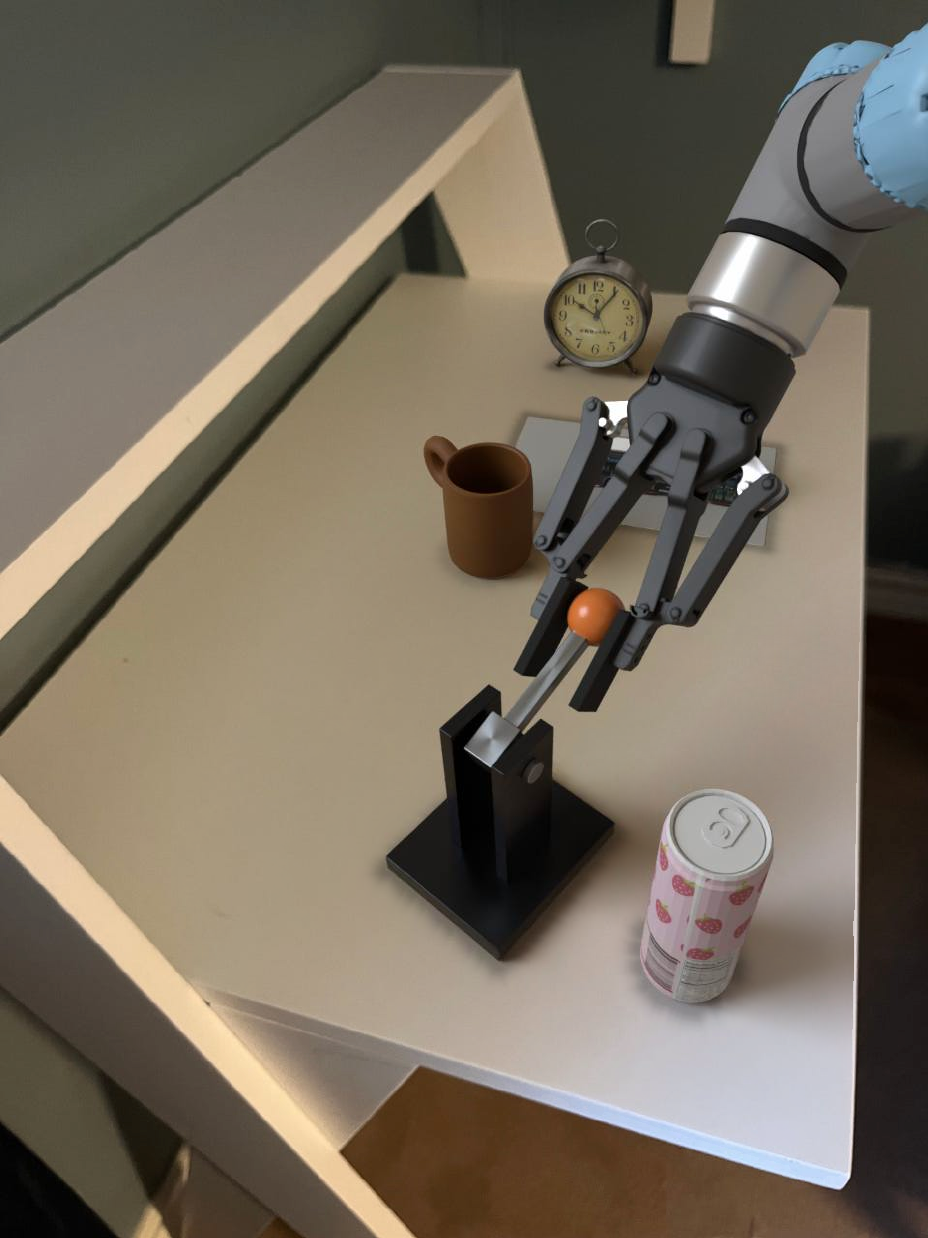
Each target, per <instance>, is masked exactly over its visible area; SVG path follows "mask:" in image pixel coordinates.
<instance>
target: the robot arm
mask: <svg viewBox="0 0 928 1238" xmlns="http://www.w3.org/2000/svg"><path fill="white" fill-rule="evenodd" d="M925 218H928V22H927V23H926V24H924V26H923V27H921V28H920V29H918V30H913V31H911V32H910V33H909V34H907V35H906V36H905V37H904V39H902V41H900V42H899V43H896V44H894V45H893V47H891V46H888V45H886V44H883V43H879V42H875V41H869V40H862V39H860V40H859V39H858V40H854V41H852V42H851V43H850V44H849V43H846V42H843V41H841V42H834V43H831V44H829V45H827V46H825V47H823V48H822V49H821V50H819V51H818V52H817V53H816V54H815V55H814V56H813V57H812V58H811V60H810V61H809V62H808V64H807V65H806V67H805V69H804V71H803V72H802V74H801V75H800V77H799V79H798V80H797V83H796V85H795V86H794V88H793V90H792V91H791V93H788V94H787V96H786V97H785V98H784V100H783V101H782V104H781V105H780V107H779V109H778V111H777V117H776V118H775V121H774V125H773V127H772V129H771V132H770V133H769V135H768V137H767V139H766V141H765V142H764V145H763V147H762V150H761V151H760V153H759V155H758V156H757V159H756V161H755V163H754V165H753V167H752V170H751V171H750V173H749V175H748V177H747V179H746V181H745V183H744V185H743V187H742V189H741V190H740V193H739V195H738V197H737V199H736V201H735V203H734V205H733V207H732V209H731V211H730V213H729V215H728V217H727V218H726V221H725V223H724V225H723V228H722V229H721V231H720V233H719V235H718V236H717V238H716V240H715V243H714V244H713V246H712V249H711V250H710V252H709V253H708V256H707V258H706V260H705V261H704V263H703V265H702V267H701V269H700V270H699V273H698V275H697V277H696V278H695V280H694V282H693V283H692V286H691V288H690V289H689V291H688V293H687V295H686V297H685V302H686V304H687V308H688V309H689V310H690V311H687V312H683V313H682V314H681V315H680V314H679V315H678V316H677V317H675V320H674V322H673V324H672V325H671V328H670V329H669V331H668V333H667V335H666V337H665V339H664V341H663V343H662V345H661V347H660V349H659V351H658V353H657V355H656V357H655V359H654V360H653V363H652V366H651V368H650V372H649V375H648V377H647V379H646V381H645V382H644V383H643V385H642V386H641V387H639V389H637V390H636V391H635V392H634V393H632V395H631V396H630V397H629V398H628V400H621V401H604V400H603V401H602V400H601V399H600V398H598V397H597V396H590V397H589V396H588V398H586V399H585V400H584V402H583V404H582V408H581V409H582V410H581V419H580V423H581V427H580V434H579V436H578V439H577V441H576V443H575V446H574V448H573V450H572V452H571V455H570V457H569V459H568V461H567V464H566V466H565V468H564V470H563V473H562V475H561V477H560V479H559V482H558V484H557V486H556V488H555V491H554V493H553V495H552V498H551V500H550V502H549V504H548V507H547V509H546V511H545V513H544V512H543V516H542V518H541V521H540V522H539V525H538V527H537V530H536V531H535V534H534V535H533V546H534V548H535V549H537V550H538V551H540V552H541V554H542V555H543V556H544V557H545V559H546V560H547V561H548V563H549V571H548V573H547V576H546V578H545V580H544V581H543V583H542V585H541V588H540V589H539V592H538V593H537V595H536V598H535V599H534V601H533V602H532V605H531V608H530V615H529V616H530V617H532V618H533V619H536V621H537V622H536V624H535V626H534V628H533V630H532V631H531V634H530V636H529V637H528V640H527V642H526V643H525V645H524V647H523V649H522V651H521V653H520V655H519V657H518V659H517V661H516V663H515V664H514V667H513V669H512V671H514V672H515V673H516V674H518V675H520V676H521V677H530V678H536V676H537V675H538V674H539V672H540V671H541V670H542V669H543V667H544V666H545V665H546V664H547V662H548V661H549V660H550V658H551V657H552V656H553V655H554V653H555V652H556V651H557V649H558V648H559V647H560V645H561V644H560V643H561V642H562V640H563V638H564V636H565V634H566V632H567V630H568V629H569V626H568V622H567V613H568V609H569V606H570V604H571V602H572V600H573V599H574V598H575V597H576V596H577V595H578V594H579V593H581V592H583V591H585V590H587V589H590V587H589V586H588V585H586V584H584V583H583V582H581V581H578V580H583V579H585V578H586V577H588V574H587V573H585V572H586V571H587V569H588V568H589V566H590V565H591V564H592V562H594V560H595V559H596V558H597V556H598V554H599V553H600V552H601V551H602V549H603V548H604V546H605V545H606V544H607V543H608V541H609V540H610V539H611V537H612V536H613V535H614V533H615V532H616V531H617V530H618V528H619V526H621V525H622V524H621V522H622V521H623V520H624V518H625V517H626V516H627V514H628V513H629V512H630V510H631V509H632V508H633V506H634V505H635V504H636V502H637V501H638V500H639V498H640V497H641V496H642V495H643V494H644V493H646V492H648V491H649V490H650V489H651V488H652V487H653V485H654V484H655V483H656V481H660V482H667V483H668V484H669V485H671V486H670V490H669V493H668V498H667V500H668V506H667V509H666V512H665V515H664V518H663V521H662V524H661V528H660V530H658V533H657V537H656V539H655V544H654V546H653V549H652V552H651V555H650V558H649V561H648V565H647V568H646V570H645V572H644V573H645V574H644V577H643V579H642V583H641V586H640V589H639V592H638V595H637V598H636V601H635V604H634V605H633V604H629V610H626V609H625V610H622V609H619V610H618V612H617V614H616V616H615V617H614V619H613V621H612V623H611V625H610V627H609V629H608V631H607V633H606V634H605V636H604V638H603V640H602V642H601V644H600V646H599V647H597V649H596V652H595V653H594V655H593V657H592V659H591V661H590V663H589V665H588V667H587V669H586V670H585V672H584V674H583V676H582V678H581V680H580V681H579V683H578V686H577V687H576V690H575V691H574V693H573V695H572V697H571V699H570V700H569V703H568V705H567V706H568V707H570V708H571V709H573V710H574V711H576V712H578V713H597V711H598V710H599V708H600V706H601V704H602V702H603V700H604V698H605V697H606V695H607V693H608V691H609V689H610V687H611V686H612V683H613V681H614V680H615V678H616V676H617V674H618V672H619V671H622V672H623V671H624V672H625V671H626V672H632V671H634V670H635V669H636V668H637V667H638V666H639V664H640V662H641V660H642V659H643V657H644V656H645V653H646V651H647V649H648V648H649V646H650V644H651V642H652V640H653V639H654V637H655V634H656V632H657V631H658V629H660V628H661V627H663V626H665V625H671V626H677V627H684V628H692V627H695V626H696V625H697V624H698V622H699V621H700V619H701V618H702V617H703V615H704V613H705V611H706V610H707V608H708V607H709V605H710V603H711V602H712V600H713V598H714V597H715V595H716V594H717V592H718V590H719V589H720V587H721V586H722V584H723V582H724V580H725V579H726V578H727V576H728V575H729V573H730V571H731V570H732V568H733V567H734V565H735V563H736V562H737V560H738V558H739V557H740V555H741V553H742V551H743V550H744V548H745V547H746V546H747V542H748V540H749V539H750V537H751V536H752V534H753V532H754V531H755V529H756V527H757V526H758V524H759V523H760V521H761V520H762V519H763V518H764V517H765V516H767V515H768V516H769V514H771V512H773V511H774V510H775V509H776V508H777V507H779V506H780V505H781V504H782V503H784V502H785V501H787V499H788V498H789V494H790V488H789V487H788V485H787V484H786V483H785V482H784V481H782V479H780V478H779V477H778V476H777V475H776V474H774V473H773V474H772V473H771V472H770V471H769V470H768V469H767V467H766V466H765V465H764V464H763V463H762V462H761V461H760V459H759V457H760V455H761V447H762V439H763V435H764V432H765V430H766V428H767V427H768V425H770V424H769V423H770V422H771V420H772V418H773V417H774V415H775V413H776V412H777V409H778V408H779V406H780V403H781V402H782V400H783V398H784V396H785V394H786V393H787V392H788V389H789V388H790V385H791V383H792V381H793V379H794V377H795V376H796V374H797V370H796V364H795V362H794V360H793V359H796V358H800V357H802V356H805V355H806V354H807V352H808V351H809V349H810V347H811V345H812V343H813V341H814V340H815V338H816V336H817V335H818V333H819V331H820V328H821V326H822V325H823V323H824V321H825V319H826V318H827V316H828V314H829V312H830V310H831V308H832V306H833V305H834V302H835V301H836V299H837V297H838V296H839V293H840V292H841V290H842V288H843V287H844V285H845V283H846V280H847V278H848V276H849V275H850V273H851V271H852V269H853V268H854V265H855V264H856V262H857V260H858V258H859V257H860V255H861V253H862V251H863V249H864V248H865V246H866V244H867V242H868V240H869V238H870V237H871V235H872V234H873V233H875V232H879V231H882V230H886V229H890V228H892V227H895V226H898V225H901V224H905V223H909V222H913V221H917V220H920V219H925ZM626 424H627V429H628V433H629V442H630V447H629V448H628V450H627V451H626V452H625V454H624V455H623V457H622V458H621V459H620V461H619V462H618V463H617V465H616V466H615V469H614V475H613V476H612V478H611V479H610V480H609V482H608V483H607V485H606V486H605V487H604V489H603V490H602V491H601V493H600V494H599V495H598V497H597V498H596V499H595V501H594V502H593V504H592V505H591V506H590V508H589V509H588V510H587V512H586V513H585V514H584V516H583V517H582V518H581V516H582V514H583V512H584V509H585V507H586V505H587V503H588V500H589V498H590V496H591V494H592V492H593V489H594V487H595V485H596V483H597V480H598V478H599V476H600V474H601V471H602V469H603V467H604V465H605V463H606V460H607V458H608V456H609V453H610V451H611V447H612V444H613V438H616V437H618V436H619V435H620V434H621V430H622V429H624V426H625V425H626ZM742 472H743V478H742V480H741V481H740V483H739V484H738V487H737V492H738V494H739V496H737V498H736V499H735V500H734V501H733V502H732V504H731V505H730V506H729V508H728V509H727V511H726V513H725V514H724V516H723V517H722V519H721V521H720V522H719V524H718V526H717V527H716V529H715V531H714V532H713V534H712V535H711V537H710V538H708V540H707V542H706V544H705V545H704V547H703V548H702V550H701V551H700V553H699V555H698V557H697V558H696V559H695V561H694V563H693V565H692V566H691V568H690V569H689V571H688V573H687V574H686V577H684V579H683V582H682V583H681V584H680V586H679V587H678V585H679V582H680V579H681V576H682V574H683V571H684V567H685V564H686V561H687V558H688V555H689V552H690V549H691V546H692V543H693V540H694V537H695V535H694V534H695V531H696V528H697V525H698V522H699V519H700V517H701V516H702V515H703V514H704V512H705V510H706V507H707V504H708V501H709V498H710V495H711V492H712V489H713V488H715V487H717V486H718V485H720V484H722V483H724V482H726V481H727V480H729V479H731V478H733V477H735V476H736V475H738V474H740V473H742ZM577 579H578V580H577ZM677 588H678V589H677Z"/></svg>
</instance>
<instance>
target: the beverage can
mask: <svg viewBox="0 0 928 1238" xmlns="http://www.w3.org/2000/svg"><path fill="white" fill-rule="evenodd" d="M774 842H775V839H774V833H773V829H772V826H771V824H770V821H769V820H768V818H767V817H766V815H765V814H764V813H763V811H762V810H761V809H760V808H759V807H758V806H757V805H756V804H755V803H754V802H752V801H751V800H749V799H748V798H747V797H745V796H743V795H741V794H738V793H736V792H733V791H730V790H727V789H722V788H703V789H699V790H695V791H693V792H692V791H691V792H690V793H688V794H686V795H684V796H683V797H681V798H679V800H677V801H676V802H675V804H674V805H673V806H672V808H671V809H670V811H669V813H668V814H667V816H666V818H665V821H664V823H663V825H662V829H661V836H660V841H659V845H658V852H657V857H656V862H655V868H654V872H653V876H652V877H653V878H652V883H651V889H650V894H649V899H648V902H647V903H648V904H647V909H646V915H645V918H644V919H645V920H644V923H643V924H644V925H643V931H642V935H641V941H640V947H639V956H640V957H639V959H640V963H641V966H642V970H643V972H644V974H645V975H646V977H647V979H648V980H649V981H650V982H651V984H652V985H653V986H654V987H655V988H656V989H657V990H658V991H659V992H661V993H662V994H664V995H666V996H667V997H669V998H671V999H673V1000H677V1001H678V1002H683V1003H690V1004H693V1003H703V1002H707V1001H711V1000H712V999H713V998H716V997H718V996H719V995H721V993H723V992H724V991H725V990H726V989H727V987H728V986H729V984H730V982H731V980H732V977H733V975H734V972H735V970H736V966H737V963H738V960H739V957H740V955H741V953H742V949H743V947H744V943H745V941H746V937H747V935H748V932H749V929H750V926H751V923H752V920H753V917H754V914H755V911H756V909H757V906H758V904H759V900H760V898H761V894H762V891H763V889H764V886H765V883H766V880H767V877H768V875H769V871H770V868H771V866H772V863H773V860H774V852H775V851H774V850H775V847H774V845H775V843H774Z"/></svg>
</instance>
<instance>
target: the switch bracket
mask: <svg viewBox="0 0 928 1238" xmlns="http://www.w3.org/2000/svg"><path fill="white" fill-rule="evenodd" d="M492 711H494V712H495V713H497V714H498V715H500V716H501V717H503V709H502V692H501V690H499V689H498V688H496V687H494V686H493V685H491V684H490V683H489V684H486V686H485V687H484V688H482V689H481V690H480V691H479V692H478V693H477V694H476V695H475V696H474V697H472V698H471V699H470V700H469V701H468V702H467V703H466V704H464V706H462V707H461V708H460V709H459V710H458V711H457V712H456V713H455V714H454V715H453V716H451V717H450V718H448V719H447V720H446V722H444V724H442V725H441V726H440V727H439V728H438V732H439V733H438V734H439V741H440V750H441V758H442V767H443V775H444V784H445V792H446V793H445V794H446V798H445V799H444V800H443V801H442V802H441V803H440V804H439V805H438V806H437V807H435V808H434V810H432V811H431V812H430V813H429V814H428V815H427V816H426V817H425V818H424V819H423V820H422V821H421V822H419V824H417V825H416V827H415V828H414V829H413V830H411V831H410V832H409V833H408V834H407V835H406V836H405V837H404V838H403V839H402V840H401V841H400V842H399V843H398V844H396V846H395V847H393V849H392V850H390V851H389V852H388V853H387V854H386V855H385V861H386V866H387V869H389V870H390V871H391V872H392V873H393V874H395V875H396V876H397V877H398V878H399V879H401V880H402V881H403V882H404V883H405V884H407V885H408V886H409V887H410V888H411V889H412V890H414V891H415V892H416V893H417V894H418V895H420V896H421V897H422V898H423V899H424V900H426V901H427V903H429V904H430V905H431V906H432V907H434V908H435V909H436V910H437V911H438V912H439V913H441V914H442V915H443V916H444V917H445V918H447V919H448V920H449V921H450V922H452V924H453V925H455V926H456V927H458V928H459V930H460V931H462V932H463V933H465V934H466V935H467V936H468V937H469V938H470V939H472V940H473V941H474V942H475V943H476V944H477V945H479V946H480V947H481V948H482V949H484V950H485V951H486V952H487V953H488V954H490V955H491V956H492V957H493V958H494V959H495V960H497V962H501V961H502V959H504V957H505V956H506V955H507V954H508V952H509V951H511V950H512V948H513V947H514V946H515V945H516V944H517V943H518V942H519V940H521V939H522V937H523V936H524V935H525V934H526V932H528V930H529V929H530V928H531V927H532V925H534V923H536V922H537V920H538V919H539V918H540V917H541V916H542V914H544V912H545V911H546V910H547V909H548V908H549V907H550V906H551V904H552V903H553V902H555V900H556V899H557V898H558V897H559V896H560V894H561V893H562V892H563V891H564V890H565V889H567V887H568V886H569V884H571V882H573V880H574V879H575V878H576V877H577V876H578V875H579V874H580V873H581V871H582V870H583V869H584V868H585V867H586V865H588V863H589V862H590V861H591V860H592V859H593V858H594V857H595V856H596V854H597V853H598V852H599V851H601V848H603V846H604V845H605V844H606V843H608V841H609V840H610V839H611V838H612V837H613V835H614V834H615V827H616V821H614V820H613V819H611V818H609V817H608V816H606V815H605V814H604V813H603V812H601V811H599V810H598V809H597V808H595V807H594V806H592V805H591V804H590V803H588V802H587V801H586V800H584V799H582V798H581V797H579V796H578V795H576V794H575V793H574V792H572V791H570V790H569V789H568V788H566V787H565V786H564V785H562V784H560V783H559V782H558V781H556V780H555V779H553V769H554V767H553V765H554V764H553V763H554V729H555V728H554V726H553V725H552V724H550V723H549V722H548V721H545V720H544V719H543V718H539V719H538V720H537V721H536V722H535V723H534V724H533V725H532V726H531V727H530V728H529V729H528V730H527V731H525V732H524V733H523V736H522V737H521V738H520V739H519V740H518V741H516V742H515V743H514V744H513V745H512V746H511V747H510V748H509V749H508V750H507V751H506V752H505V753H504V754H503V755H502V756H501V757H500V758H499V759H498V760H497V761H496V762H495V763H494V764H493V765H492V766H491V773H489V772H488V771H486V770H485V769H484V768H482V767H481V766H480V765H478V764H477V763H475V762H474V761H473V759H472V758H471V757H470V756H469V754H468V753H467V752H466V751H465V749H464V747H465V745H466V744H467V743H468V741H469V740H470V739H471V738H472V736H473V735H474V734H475V732H476V731H477V730H478V729H479V727H480V726H481V725H482V724H483V722H484V721H485V720H486V718H487V717H488V716H489V715H490V713H491V712H492Z"/></svg>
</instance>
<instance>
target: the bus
mask: <svg viewBox="0 0 928 1238" xmlns="http://www.w3.org/2000/svg"><path fill="white" fill-rule="evenodd" d="M580 427H581V422H575V421H574V422H573V421H565V420H559V419H550V418H544V417H543V418H542V417H535V416H527V418H526V421H525V422H524V426H523V428H522V429H521V432H520V434H519V437H518V439H517V442H516V443H515V446H514V447H515V448H517V449H518V450H520V451H521V452H523V453H524V454H525V455H526V457H527V458H528V459H529V461H530V464H531V468H532V479H533V512H536V513H537V512H538V513H543V514H544V513H545V511H546V509H547V507H548V504H549V502H550V500H551V498H552V495H553V493H554V491H555V488H556V486H557V484H558V482H559V479H560V477H561V475H562V473H563V470H564V468H565V466H566V464H567V461H568V459H569V457H570V455H571V452H572V450H573V448H574V446H575V443H576V441H577V439H578V436H579V434H580ZM629 447H630V442H629V433H628V428H622V430H621V434H620V435H619V436H618V437H616V438H613V444H612V447H611V451H610V453H609V456H608V458H607V460H606V463H605V465H604V467H603V469H602V471H601V474H600V476H599V478H598V480H597V483H596V485H595V487H594V489H593V492H592V494H591V496H590V498H589V500H588V503H587V505H586V507H585V509H584V512H583V514H582V516H581V518H580V519H582V517H583V516H584V514H585V513H586V512H587V510H588V509H589V508H590V506H591V505H592V504H593V502H594V501H595V499H596V498H597V497H598V495H599V494H600V493H601V491H602V490H603V489H604V487H605V486H606V485H607V483H608V482H609V480H610V479H611V478H612V476H613V475H614V469H615V466H616V465H617V463H618V462H619V461H620V459H621V458H622V457H623V455H624V454H625V452H626V451H627V450H628V448H629ZM776 456H777V448H775V447H768V446H761V455H760V457H759V459H760V461H761V462H762V463H763V464H764V465H765V466H766V467H767V469H768V470H769V471H770V472H771V473H772V474H774V473H775V463H776V458H777V457H776ZM742 478H743V472H742V473H740V474H738V475H736V476H735V477H733V478H731V479H729V480H727V481H726V482H724V483H722V484H720V485H718V486H717V487H715V488H713V489H712V492H711V495H710V498H709V501H708V504H707V507H706V510H705V512H704V514H703V515H702V516H701V517H700V519H699V522H698V525H697V528H696V531H695V534H694V537H695V536H696V537H702V538H708V539H710V537H711V535H712V534H713V532H714V531H715V529H716V527H717V526H718V524H719V522H720V521H721V519H722V517H723V516H724V514H725V513H726V511H727V509H728V508H729V506H730V505H731V504H732V502H733V501H734V500H735V499H736V498H737V496H739V494H738V492H737V487H738V484H739V483H740V481H741V480H742ZM670 486H671V485H669V484H668V483H667V482H660V481H656V483H655V484H654V485H653V487H652V488H651V489H650V490H649V491H648V492H646V493H644V494H643V495H642V496H641V497H640V498H639V500H638V501H637V502H636V504H635V505H634V506H633V508H632V509H631V510H630V512H629V513H628V514H627V516H626V517H625V518H624V520H623V521H622V522H621V524H620V525H623V526H631V527H636V528H641V529H650V530H656V531H660V528H661V524H662V521H663V518H664V515H665V512H666V509H667V506H668V500H667V498H668V493H669V490H670ZM768 520H769V514H768V515H767V516H765V517H764V518H763V519H762V520H761V521H760V523H759V524H758V526H757V527H756V529H755V531H754V532H753V534H752V536H751V537H750V539H749V540H748V542H747V544H749V545H754V546H761V547H765V544H766V537H767V529H768ZM747 544H746V545H747Z"/></svg>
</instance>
